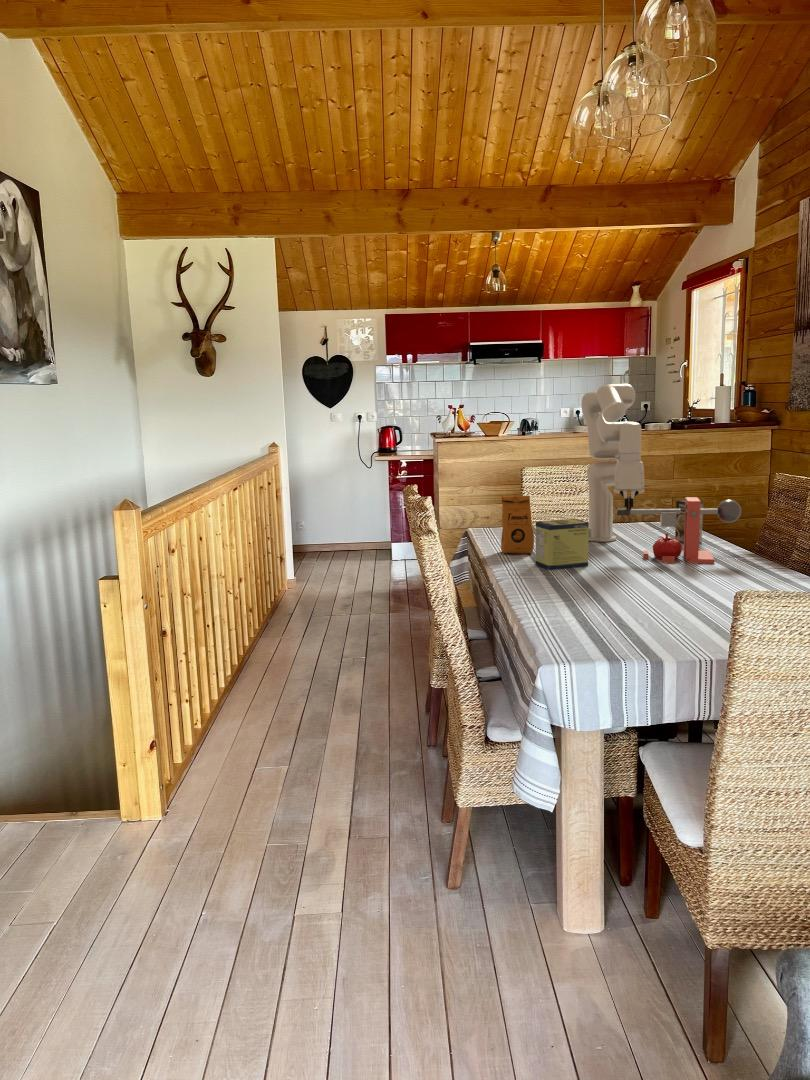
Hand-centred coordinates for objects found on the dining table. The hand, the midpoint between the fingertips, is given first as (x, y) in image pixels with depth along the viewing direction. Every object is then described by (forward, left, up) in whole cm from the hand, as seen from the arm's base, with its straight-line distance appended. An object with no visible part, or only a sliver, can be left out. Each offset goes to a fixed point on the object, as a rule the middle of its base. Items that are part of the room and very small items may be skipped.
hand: (628, 509), depth 282 cm
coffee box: (+23, +36, -18) cm, 47 cm away
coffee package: (-41, +4, -18) cm, 44 cm away
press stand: (+17, 0, -18) cm, 25 cm away
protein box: (-23, -17, -18) cm, 33 cm away
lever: (+17, 0, -6) cm, 18 cm away
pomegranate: (+13, 0, -18) cm, 23 cm away
